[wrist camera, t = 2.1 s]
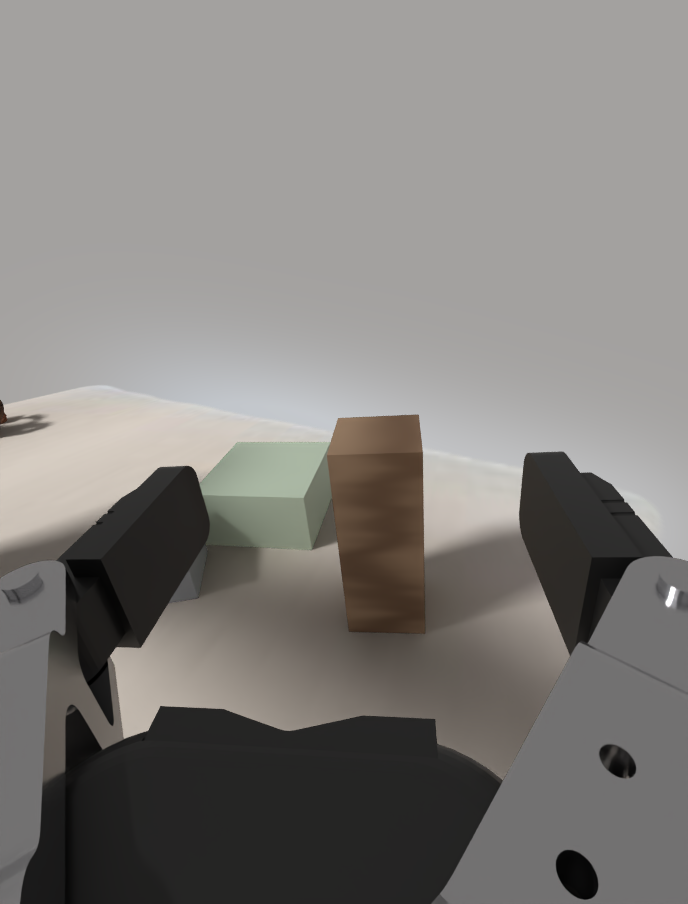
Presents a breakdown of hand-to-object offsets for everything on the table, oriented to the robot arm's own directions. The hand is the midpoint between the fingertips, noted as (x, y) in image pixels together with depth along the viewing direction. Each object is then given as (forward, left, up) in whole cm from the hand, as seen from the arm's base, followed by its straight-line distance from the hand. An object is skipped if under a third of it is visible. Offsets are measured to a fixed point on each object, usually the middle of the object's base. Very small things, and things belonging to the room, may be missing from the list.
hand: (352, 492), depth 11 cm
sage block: (-10, +21, -16) cm, 28 cm away
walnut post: (0, +11, -16) cm, 19 cm away
